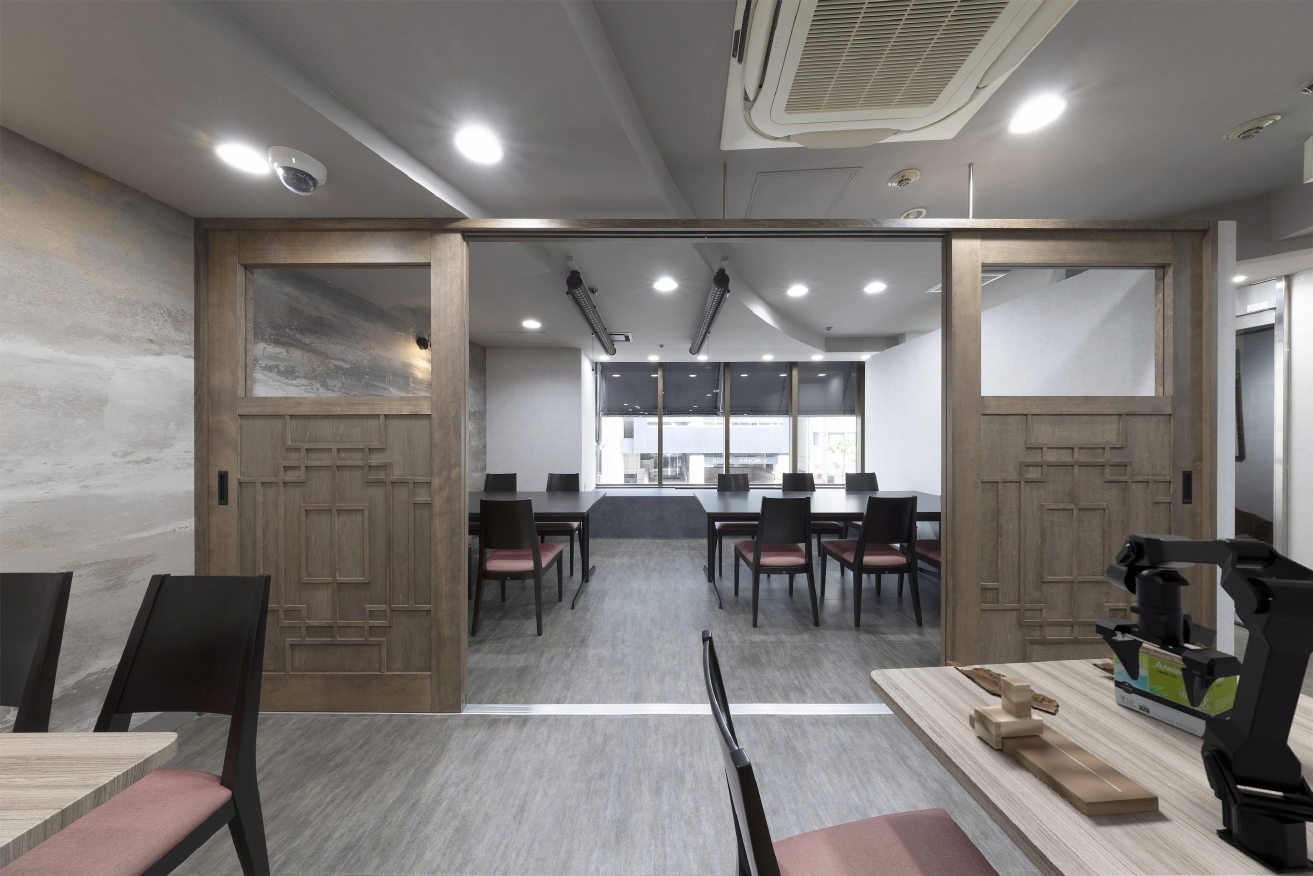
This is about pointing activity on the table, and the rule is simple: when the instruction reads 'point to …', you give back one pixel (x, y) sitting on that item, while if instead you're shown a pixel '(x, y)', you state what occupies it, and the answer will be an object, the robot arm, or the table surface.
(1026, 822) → the table surface
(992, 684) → the wooden fragment
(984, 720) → the block
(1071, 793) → the walnut board
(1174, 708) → the tea box
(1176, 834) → the table surface
